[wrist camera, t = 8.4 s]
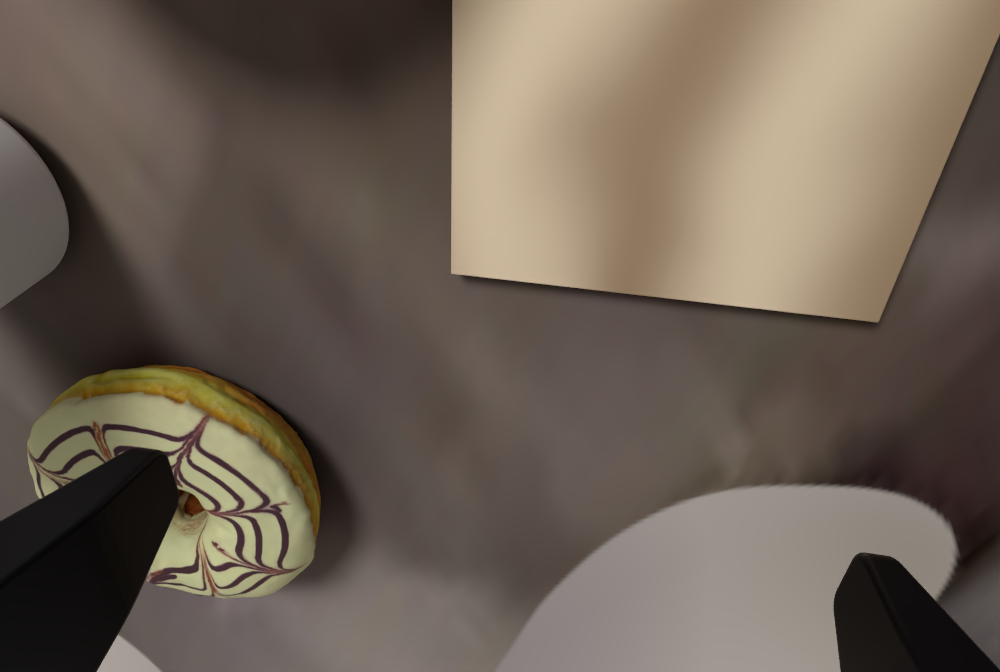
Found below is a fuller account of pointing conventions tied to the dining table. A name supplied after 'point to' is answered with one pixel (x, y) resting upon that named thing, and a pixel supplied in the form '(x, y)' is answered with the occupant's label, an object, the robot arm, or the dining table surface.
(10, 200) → the beverage can
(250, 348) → the dining table surface
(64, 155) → the dining table surface
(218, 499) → the decorated donut
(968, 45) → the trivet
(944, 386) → the dining table surface
